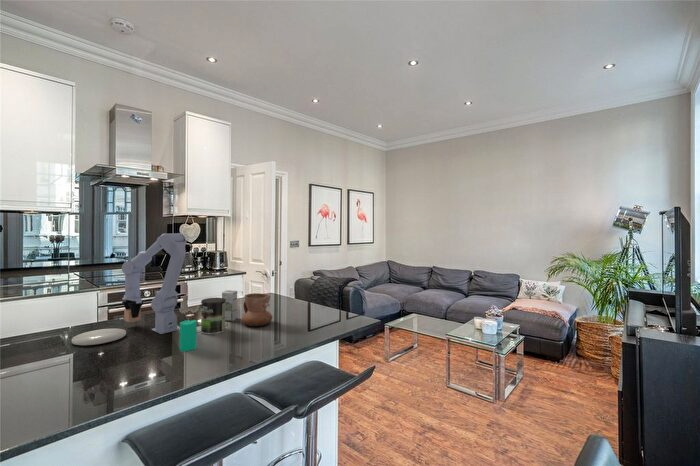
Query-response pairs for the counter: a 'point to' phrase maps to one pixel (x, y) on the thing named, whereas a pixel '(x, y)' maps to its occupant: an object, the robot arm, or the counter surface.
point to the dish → (98, 336)
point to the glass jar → (213, 315)
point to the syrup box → (230, 305)
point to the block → (129, 316)
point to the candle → (188, 335)
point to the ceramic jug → (256, 309)
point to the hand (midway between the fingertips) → (132, 316)
